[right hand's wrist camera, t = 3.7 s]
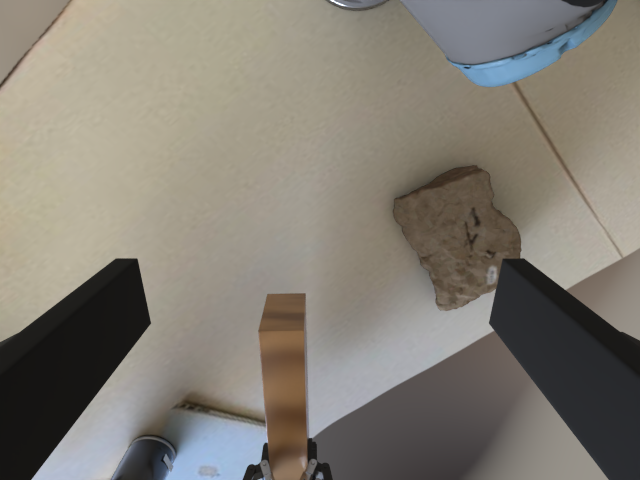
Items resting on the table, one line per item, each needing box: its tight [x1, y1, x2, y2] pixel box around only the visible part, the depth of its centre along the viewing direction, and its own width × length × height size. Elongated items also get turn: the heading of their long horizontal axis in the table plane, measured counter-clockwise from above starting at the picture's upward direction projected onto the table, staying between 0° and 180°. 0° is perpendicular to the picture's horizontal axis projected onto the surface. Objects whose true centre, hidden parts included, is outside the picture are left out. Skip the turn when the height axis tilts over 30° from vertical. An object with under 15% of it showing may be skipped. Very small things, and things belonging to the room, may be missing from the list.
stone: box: [393, 165, 521, 311], centre depth 53 cm, size 21×15×6 cm
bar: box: [258, 293, 309, 480], centre depth 52 cm, size 27×6×9 cm, turn 0°
